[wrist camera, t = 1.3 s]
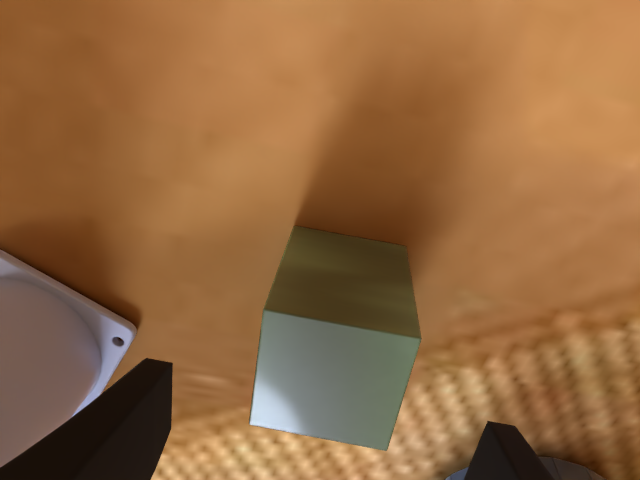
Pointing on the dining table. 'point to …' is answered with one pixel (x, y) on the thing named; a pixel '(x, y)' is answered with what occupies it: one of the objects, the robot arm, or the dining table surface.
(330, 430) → the block
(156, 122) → the dining table surface
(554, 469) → the bowl
